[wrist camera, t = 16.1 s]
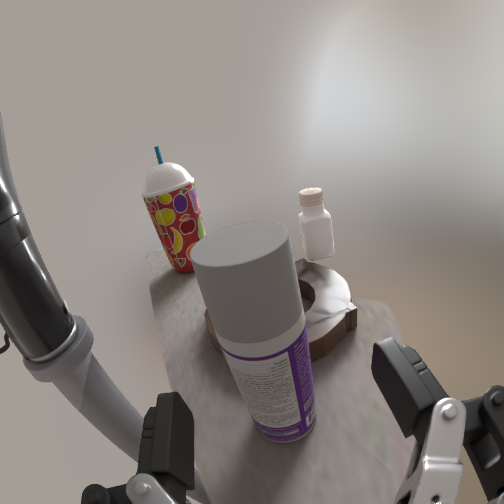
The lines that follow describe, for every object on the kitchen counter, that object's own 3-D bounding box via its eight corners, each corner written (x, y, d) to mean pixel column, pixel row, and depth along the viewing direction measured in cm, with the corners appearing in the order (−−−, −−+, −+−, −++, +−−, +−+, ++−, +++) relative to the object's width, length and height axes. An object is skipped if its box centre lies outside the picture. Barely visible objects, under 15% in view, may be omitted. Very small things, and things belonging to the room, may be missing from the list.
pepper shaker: (336, 256, 39) (329, 191, 35) (309, 263, 39) (299, 197, 35) (327, 245, 42) (320, 185, 38) (302, 250, 43) (292, 190, 39)
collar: (228, 392, 22) (219, 375, 21) (203, 302, 36) (197, 286, 35) (378, 329, 25) (380, 310, 24) (311, 265, 38) (309, 249, 37)
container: (287, 385, 22) (248, 214, 15) (329, 414, 18) (314, 229, 12) (244, 419, 19) (171, 251, 13) (283, 454, 16) (222, 282, 10)
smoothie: (177, 256, 51) (144, 150, 43) (220, 249, 50) (190, 136, 41) (162, 280, 44) (119, 159, 35) (210, 274, 42) (171, 141, 34)
